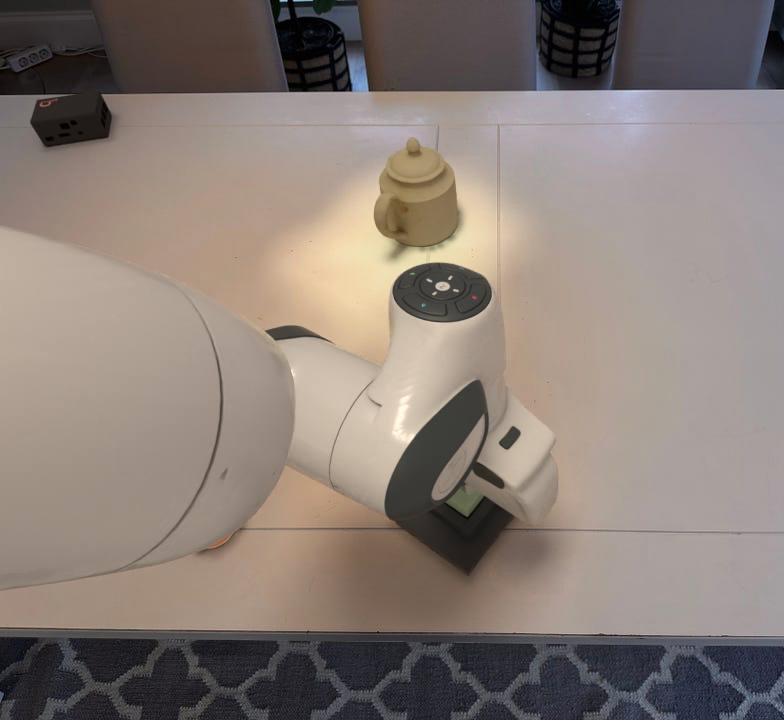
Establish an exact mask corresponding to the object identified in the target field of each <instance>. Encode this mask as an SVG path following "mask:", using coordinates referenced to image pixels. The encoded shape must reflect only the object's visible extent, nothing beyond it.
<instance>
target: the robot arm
mask: <svg viewBox="0 0 784 720" xmlns="http://www.w3.org/2000/svg"><path fill="white" fill-rule="evenodd" d="M495 289H496V288H494V286H493V285H492V283H491V282H490V281H489V280H488V279H487V277H486V276H484V275H483V274H481V273H479V272H477V271H475V270H473V269H470V268H468V267H465V266H462V265H459V264H455V263H450V262H442V261H441V262H440V261H439V262H436V261H435V262H426V263H422V264H418V265H415V266H412V267H410V268H408V269H406V270H404V271H403V272H401V273H400V274H399V275H398V276H397V277H395V279H394V281H393V282H392V284H391V287H390V290H389V296H388V330H389V344H388V349H387V351H386V355H385V358H384V360H383V363H382V364H381V363H378V362H377V361H374V360H372V359H369V358H367V357H365V356H362V355H360V354H358V353H355V352H353V351H351V350H348V349H346V348H344V347H342V346H340V345H338V344H335V342H332V341H331V340H329V339H327V338H325V337H324V336H322V335H320V334H318V333H316V332H314V331H312V330H311V329H308V328H306V327H304V326H301V325H295V324H292V325H291V324H289V325H288V324H287V325H281V326H277V327H272V328H270V329H269V328H268V329H265V330H264V329H262V328H261V327H259V326H258V325H257V324H256V323H254V322H253V321H252V320H250V319H249V318H247V316H244V315H243V314H242V313H240V312H238V311H237V310H236V309H234V308H233V307H231V306H229V305H228V304H226V303H224V302H223V301H221V300H219V299H218V298H216V297H214V296H212V295H210V294H208V293H206V292H204V291H203V290H200V289H198V288H197V287H195V286H192V285H190V284H189V283H186V282H183V281H182V280H179V279H177V278H174V277H172V276H169V275H168V274H166V273H165V274H164V273H162V272H160V271H157V270H155V269H152V268H149V267H147V266H143V265H141V264H138V263H135V262H133V261H129V260H127V259H124V258H121V257H118V256H115V255H113V254H110V253H106V252H104V251H101V250H97V249H94V248H90V247H88V246H83V245H80V244H77V243H73V242H70V241H66V240H63V239H60V238H56V237H52V236H48V235H44V234H40V233H36V232H31V231H27V230H23V229H19V228H15V227H10V226H6V225H2V224H0V592H2V591H7V590H15V589H24V588H30V587H37V586H38V587H39V586H45V585H52V584H53V585H54V584H58V583H64V582H71V581H77V580H82V579H83V580H84V579H89V578H90V579H91V578H95V577H101V576H106V575H111V574H117V573H123V572H128V571H129V572H130V571H133V570H139V569H145V568H149V567H154V566H158V565H162V564H163V565H164V564H166V563H170V562H174V561H178V560H180V559H183V558H186V557H189V556H191V555H194V554H196V553H199V552H201V551H204V550H206V549H209V548H208V547H210V546H212V545H214V544H216V543H218V542H219V541H221V540H223V539H224V538H226V537H228V536H229V535H231V534H232V533H233V534H234V533H235V532H237V531H238V530H240V529H241V528H242V527H243V526H244V525H246V524H247V523H248V522H249V521H250V520H251V519H252V518H253V517H254V516H255V515H256V514H257V513H258V511H259V510H260V509H261V508H262V507H263V505H264V504H265V502H266V501H267V500H268V498H269V497H270V495H271V494H272V492H273V490H275V487H276V486H277V484H278V482H279V480H280V478H281V477H282V474H283V472H284V470H285V468H286V467H288V468H290V469H291V470H294V471H296V472H298V473H300V474H302V475H304V476H305V477H307V478H309V479H311V480H313V481H315V482H317V483H318V484H320V485H322V486H325V487H327V488H329V489H330V490H331V491H332V490H333V492H336V493H338V494H340V495H341V496H344V497H345V498H347V499H349V500H351V501H353V502H355V503H357V504H359V505H360V506H363V507H365V508H367V509H369V510H371V511H373V513H374V512H375V513H376V514H379V515H380V516H383V517H385V518H388V519H389V520H390V521H392V522H396V521H400V520H406V519H410V518H413V517H416V516H419V515H421V514H424V513H426V512H428V511H430V510H432V509H434V508H436V507H438V506H439V505H441V504H443V503H445V502H446V501H448V500H449V499H450V498H451V497H452V496H453V495H454V494H455V493H456V492H457V491H458V489H459V488H460V489H461V490H462V491H464V492H465V493H467V494H468V495H470V496H471V495H472V494H473V493H474V491H475V490H477V491H478V492H479V493H481V494H482V495H484V496H485V497H487V498H488V499H490V500H491V501H493V502H494V503H496V504H497V505H499V506H500V507H502V508H503V509H505V510H506V511H508V512H509V513H511V514H512V515H514V518H516V519H518V520H519V521H521V522H522V523H524V524H525V525H527V526H530V527H537V526H539V525H540V524H541V523H542V522H543V521H544V519H545V518H546V517H547V516H548V514H549V513H550V511H551V510H552V509H553V507H554V506H555V503H556V502H557V499H558V494H559V470H558V465H557V462H556V459H555V457H554V456H553V454H552V453H551V452H552V451H553V449H554V446H555V445H556V442H557V436H556V434H555V432H554V431H553V430H552V429H551V428H550V427H549V426H547V425H546V424H545V423H544V422H543V421H541V420H540V419H539V418H538V417H537V416H536V415H534V413H533V412H531V411H530V410H529V409H528V408H527V407H526V406H525V405H524V404H523V403H522V402H521V401H520V399H519V398H518V397H517V396H516V395H515V394H514V393H513V391H512V390H511V389H510V388H509V386H507V385H506V379H505V377H504V373H505V371H506V367H507V366H506V365H507V341H506V329H505V321H504V314H503V310H502V306H501V302H500V298H499V296H498V294H497V292H496V290H495Z"/></svg>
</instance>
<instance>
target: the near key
mask: <svg viewBox="0 0 784 720" xmlns="http://www.w3.org/2000/svg"><path fill="white" fill-rule="evenodd" d="M483 497H484V495H482V494H481V493H479V492H478V491H477V490H475V491H474V493H473V494H472V495H471V496H470V495H468V494H467V493H465V492H464V491H462V490H461V489H460V488H459V489H458V491H457V492H456V493H455V494H454V495H453V496H452V497H451V498H450V499H449V500H448V501H446V502H445V503H447V504H448V505H450V506H451V507H453V508H454V509H456V510H457V511H458V512H460V513H461V514H463V515H464V516H466V517H468V516H469V515H470V514H471V512H472V511H473V510H474V509H475V507H476V506H477V505H478V504H479V502H480V501H481V500H482V499H483Z"/></svg>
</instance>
